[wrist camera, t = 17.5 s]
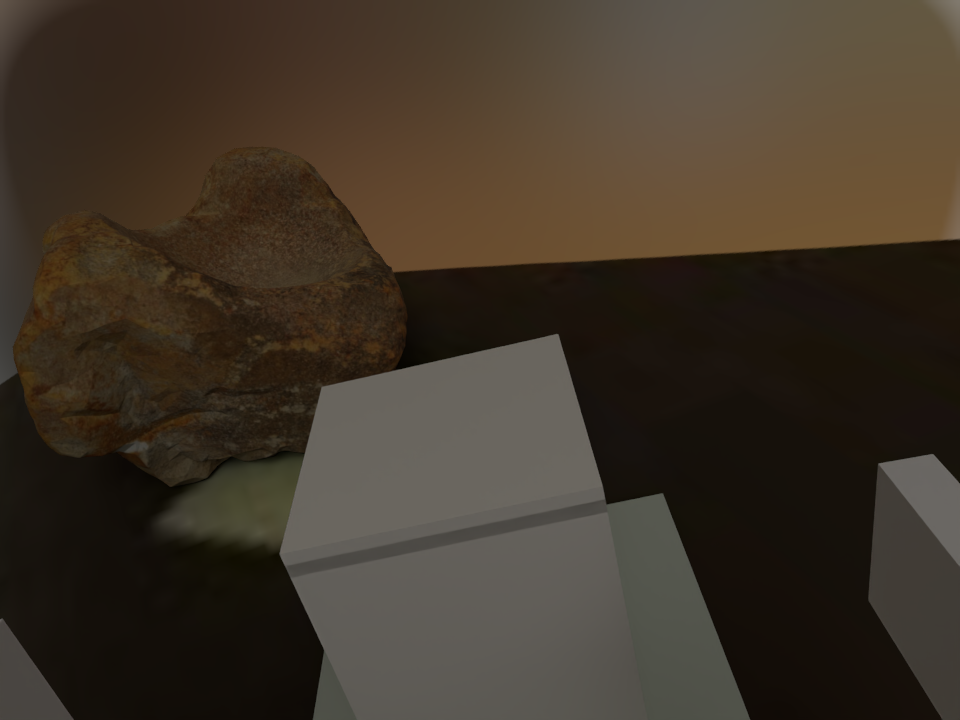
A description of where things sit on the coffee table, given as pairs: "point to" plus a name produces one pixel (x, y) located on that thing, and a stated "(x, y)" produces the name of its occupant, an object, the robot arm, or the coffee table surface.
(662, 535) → the mat
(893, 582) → the robot arm
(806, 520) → the coffee table surface
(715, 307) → the coffee table surface
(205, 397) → the rough brown rock
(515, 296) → the coffee table surface
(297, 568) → the white box
